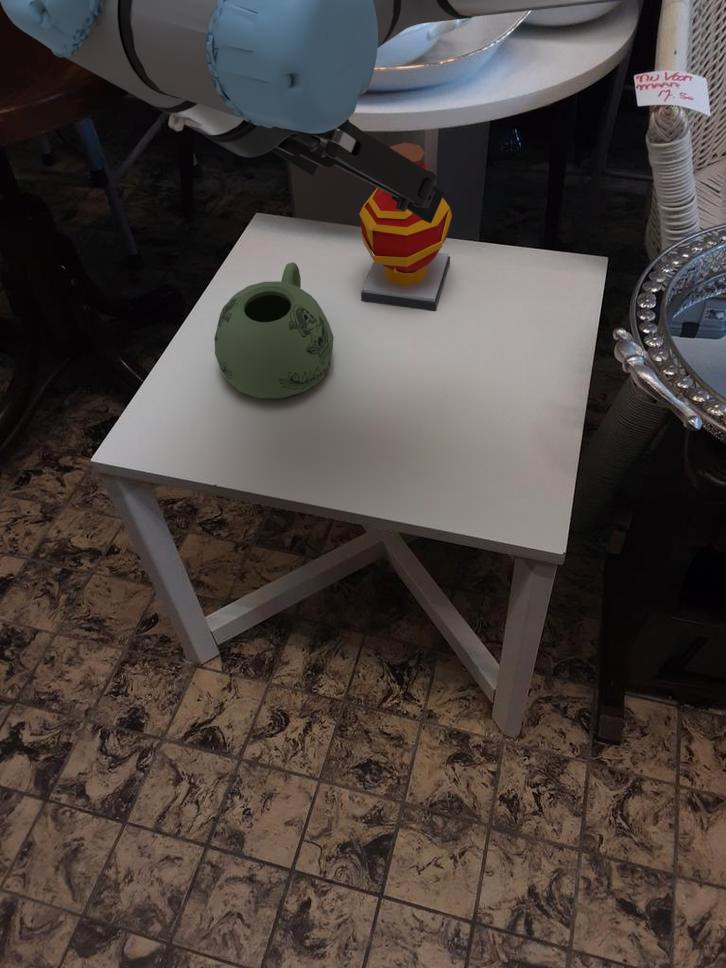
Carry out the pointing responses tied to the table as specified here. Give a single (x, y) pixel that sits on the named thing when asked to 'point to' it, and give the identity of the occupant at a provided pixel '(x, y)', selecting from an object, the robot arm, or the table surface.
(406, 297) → the scale
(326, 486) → the table surface
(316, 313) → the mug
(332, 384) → the table surface
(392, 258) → the potion bottle
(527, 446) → the table surface
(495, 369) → the table surface
